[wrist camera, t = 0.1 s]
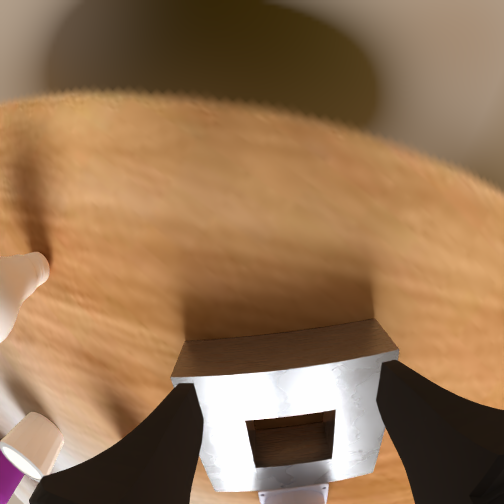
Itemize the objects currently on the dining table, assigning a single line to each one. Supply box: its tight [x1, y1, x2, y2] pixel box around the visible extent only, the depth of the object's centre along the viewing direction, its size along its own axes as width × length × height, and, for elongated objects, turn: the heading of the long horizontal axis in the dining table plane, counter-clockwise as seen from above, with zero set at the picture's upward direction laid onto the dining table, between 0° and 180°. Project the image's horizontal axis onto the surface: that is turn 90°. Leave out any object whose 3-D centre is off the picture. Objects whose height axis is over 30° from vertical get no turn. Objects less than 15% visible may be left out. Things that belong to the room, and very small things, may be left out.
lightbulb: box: [0, 252, 50, 343], centre depth 14 cm, size 6×6×11 cm
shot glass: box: [0, 412, 64, 482], centre depth 21 cm, size 7×7×7 cm
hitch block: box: [171, 319, 399, 492], centre depth 20 cm, size 14×14×4 cm
